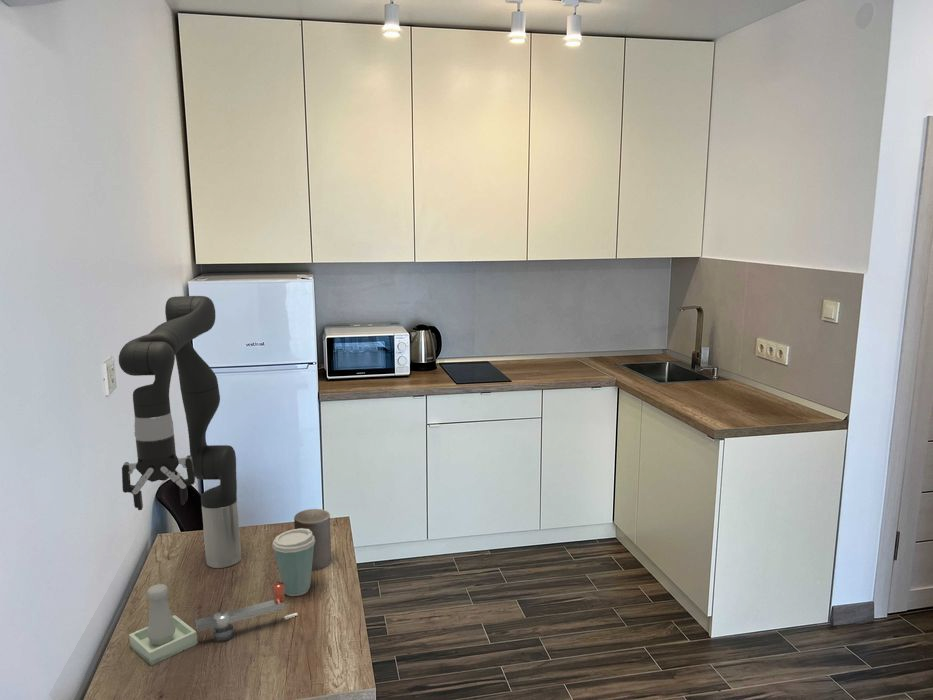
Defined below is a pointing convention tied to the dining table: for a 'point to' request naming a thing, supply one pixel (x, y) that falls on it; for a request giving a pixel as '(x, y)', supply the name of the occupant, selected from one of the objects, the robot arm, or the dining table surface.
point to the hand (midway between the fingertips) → (161, 506)
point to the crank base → (223, 635)
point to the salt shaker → (159, 616)
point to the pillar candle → (317, 534)
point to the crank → (243, 612)
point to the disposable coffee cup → (294, 560)
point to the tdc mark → (290, 616)
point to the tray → (155, 654)
